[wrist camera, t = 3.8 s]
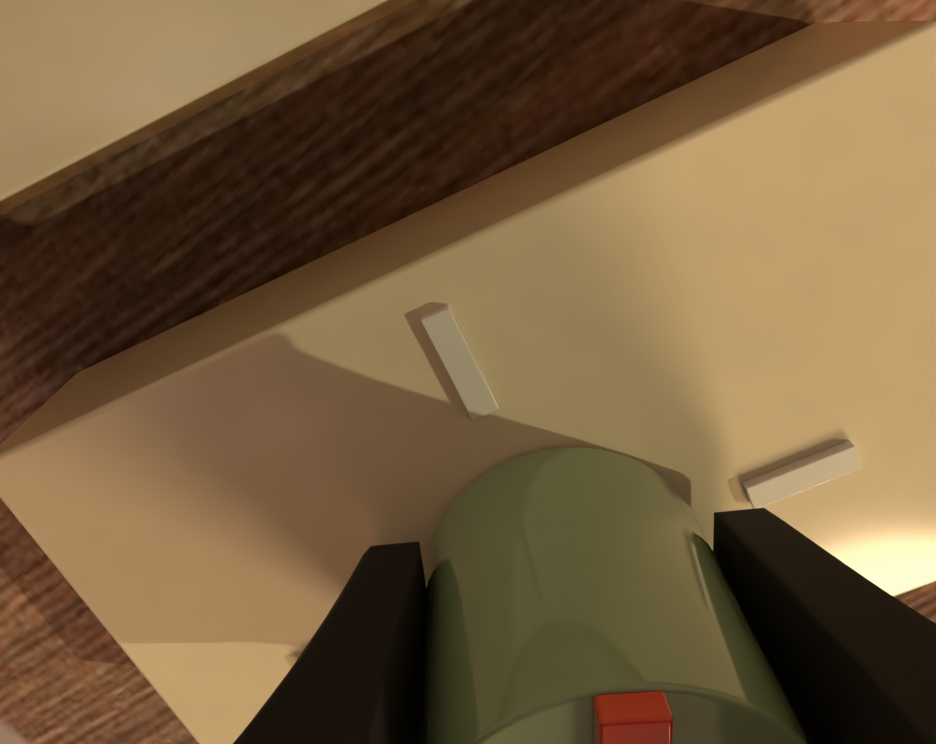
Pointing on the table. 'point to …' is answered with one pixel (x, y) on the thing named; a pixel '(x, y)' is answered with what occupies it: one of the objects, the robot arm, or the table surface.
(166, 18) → the tan base plate
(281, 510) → the dial knob base
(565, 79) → the table surface
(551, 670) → the knob
